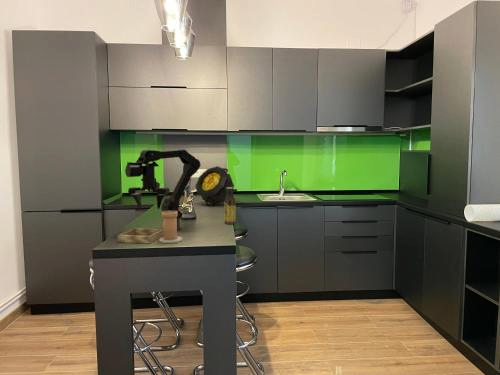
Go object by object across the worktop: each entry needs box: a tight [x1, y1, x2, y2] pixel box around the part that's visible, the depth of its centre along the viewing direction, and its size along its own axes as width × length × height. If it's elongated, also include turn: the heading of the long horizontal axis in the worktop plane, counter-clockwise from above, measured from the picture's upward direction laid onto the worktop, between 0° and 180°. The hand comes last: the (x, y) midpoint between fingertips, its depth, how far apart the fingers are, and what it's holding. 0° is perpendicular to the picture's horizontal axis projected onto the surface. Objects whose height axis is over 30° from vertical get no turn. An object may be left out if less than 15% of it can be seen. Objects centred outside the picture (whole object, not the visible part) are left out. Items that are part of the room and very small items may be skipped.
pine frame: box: [117, 227, 163, 244], centre depth 161 cm, size 15×15×3 cm
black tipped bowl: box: [195, 165, 238, 207], centre depth 270 cm, size 28×28×24 cm
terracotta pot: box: [161, 210, 178, 240], centre depth 158 cm, size 7×7×12 cm
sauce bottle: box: [223, 187, 237, 225], centre depth 196 cm, size 6×6×20 cm
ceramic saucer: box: [158, 235, 183, 244], centre depth 158 cm, size 10×10×1 cm
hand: (149, 208), depth 171 cm, fingers open, 9 cm apart
